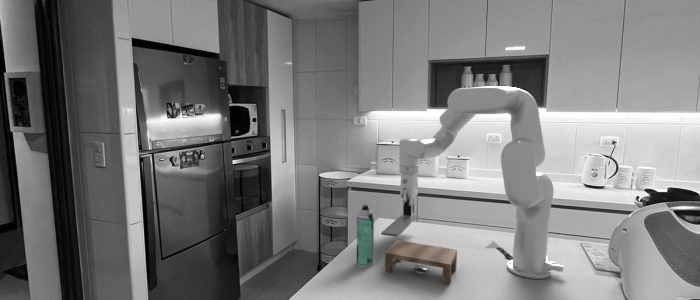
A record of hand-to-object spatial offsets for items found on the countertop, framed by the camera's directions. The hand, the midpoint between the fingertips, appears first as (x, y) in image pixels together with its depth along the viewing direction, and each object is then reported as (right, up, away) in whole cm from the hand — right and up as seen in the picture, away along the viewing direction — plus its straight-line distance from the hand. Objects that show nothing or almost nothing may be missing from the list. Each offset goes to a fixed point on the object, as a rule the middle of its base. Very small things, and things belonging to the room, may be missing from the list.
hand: (408, 213), depth 152 cm
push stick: (-5, -3, -10) cm, 11 cm away
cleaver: (+28, -10, -11) cm, 32 cm away
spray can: (-19, -12, -28) cm, 36 cm away
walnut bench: (-1, -13, -33) cm, 35 cm away
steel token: (-1, -13, -33) cm, 36 cm away
